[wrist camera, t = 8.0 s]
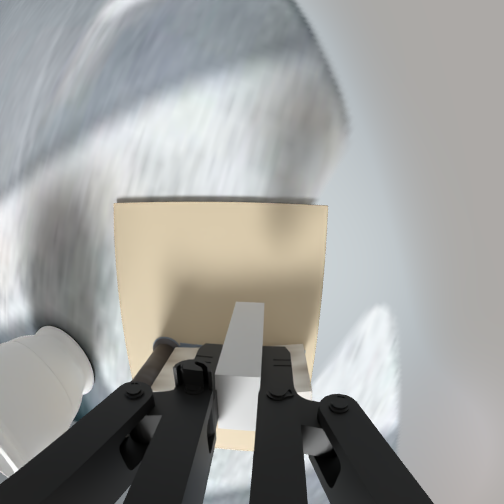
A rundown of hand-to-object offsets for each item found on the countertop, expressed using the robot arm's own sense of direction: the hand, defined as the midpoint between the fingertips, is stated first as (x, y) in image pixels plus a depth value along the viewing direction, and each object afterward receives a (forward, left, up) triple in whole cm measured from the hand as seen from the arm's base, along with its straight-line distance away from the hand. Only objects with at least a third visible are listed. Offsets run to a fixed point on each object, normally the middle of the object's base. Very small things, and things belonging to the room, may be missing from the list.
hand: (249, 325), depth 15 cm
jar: (+10, -20, -6) cm, 23 cm away
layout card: (+6, -3, -6) cm, 9 cm away
